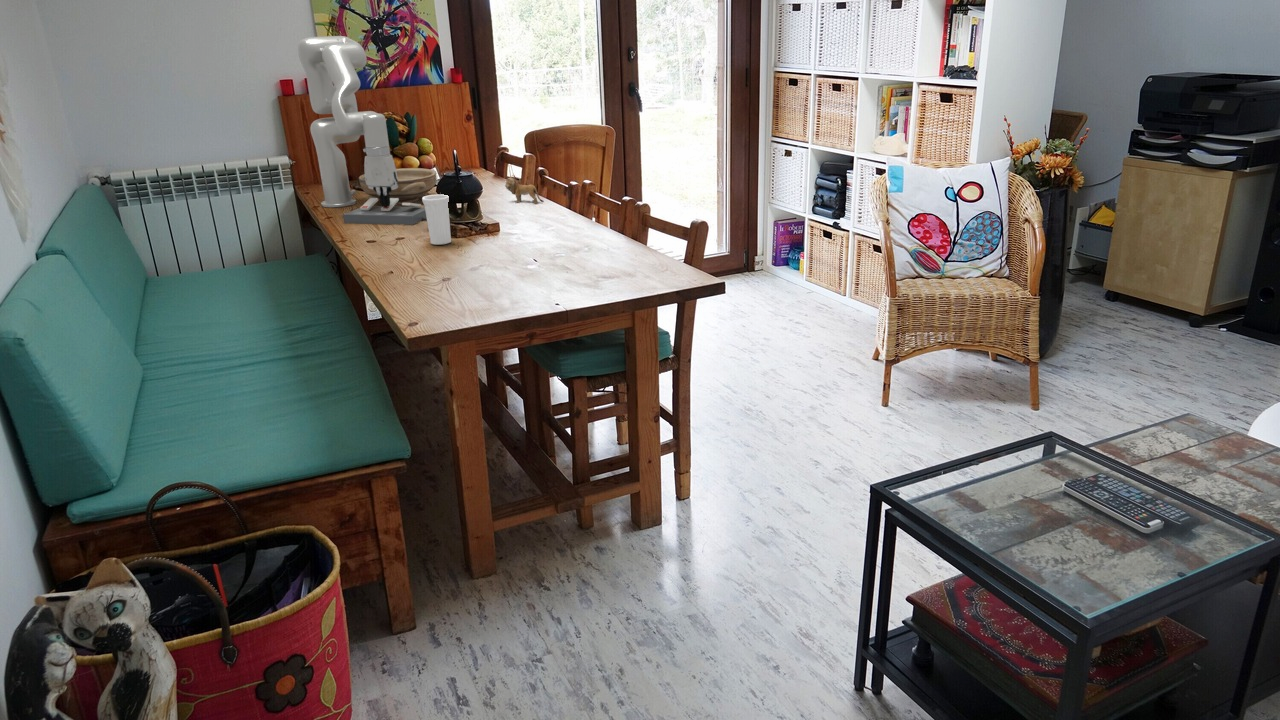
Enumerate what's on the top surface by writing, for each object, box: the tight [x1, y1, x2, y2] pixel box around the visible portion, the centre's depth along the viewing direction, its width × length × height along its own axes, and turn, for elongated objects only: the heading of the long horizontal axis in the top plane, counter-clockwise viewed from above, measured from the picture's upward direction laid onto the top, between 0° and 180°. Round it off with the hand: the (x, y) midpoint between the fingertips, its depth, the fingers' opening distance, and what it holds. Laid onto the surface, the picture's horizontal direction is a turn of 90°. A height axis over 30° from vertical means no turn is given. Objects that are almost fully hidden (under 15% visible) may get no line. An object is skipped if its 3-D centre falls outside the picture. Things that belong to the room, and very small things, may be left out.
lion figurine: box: [504, 177, 545, 205], centre depth 319 cm, size 15×5×9 cm, turn 73°
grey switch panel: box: [342, 205, 427, 226], centre depth 299 cm, size 14×32×3 cm, turn 76°
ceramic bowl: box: [358, 167, 437, 205], centre depth 329 cm, size 37×29×10 cm
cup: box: [421, 193, 452, 246], centre depth 263 cm, size 8×8×14 cm
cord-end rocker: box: [401, 202, 422, 207], centre depth 299 cm, size 8×3×1 cm, turn 166°
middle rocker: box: [381, 198, 399, 211], centre depth 300 cm, size 8×3×1 cm, turn 166°
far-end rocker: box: [359, 197, 379, 210], centre depth 302 cm, size 8×3×1 cm, turn 166°
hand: (385, 205), depth 298 cm, fingers closed
